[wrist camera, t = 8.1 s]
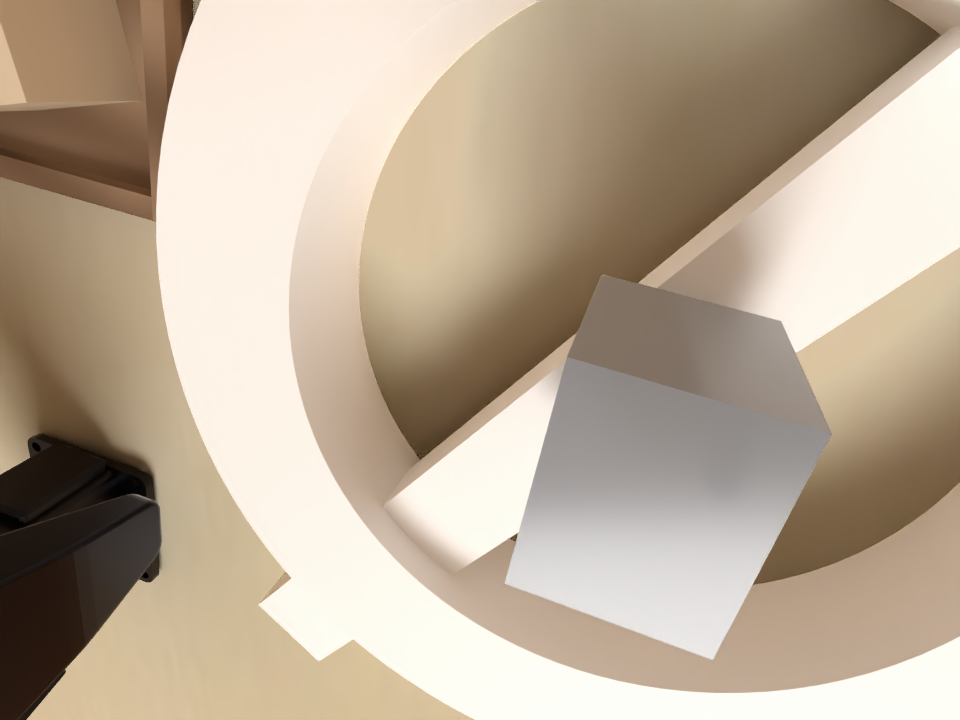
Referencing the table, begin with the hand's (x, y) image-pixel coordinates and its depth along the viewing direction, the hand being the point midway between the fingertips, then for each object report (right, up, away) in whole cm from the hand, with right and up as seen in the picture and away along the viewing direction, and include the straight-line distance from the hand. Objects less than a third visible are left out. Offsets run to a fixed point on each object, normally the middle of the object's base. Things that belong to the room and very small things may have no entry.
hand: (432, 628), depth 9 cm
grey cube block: (+5, +3, +6) cm, 8 cm away
